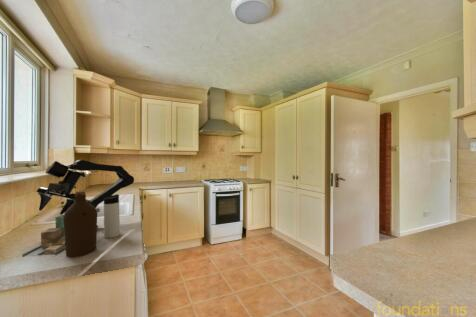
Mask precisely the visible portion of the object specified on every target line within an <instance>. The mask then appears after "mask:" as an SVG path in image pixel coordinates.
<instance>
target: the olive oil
mask: <svg viewBox="0 0 476 317" xmlns="http://www.w3.org/2000/svg"><path fill="white" fill-rule="evenodd" d="M74 194H76V195H75V202H74V203H73V204H72V205H71V206H70V207H69V208H68V209H67V210H66V212H65V213H63V215H64V217H63V222H64V232H65V246H66V249H65V254H66V255H65V256H66V257H67V258H72V259H73V258H75V259H76V258H81V257H84V256H88V255H89V254H92V253H93V252H95V251H96V250H97V231H98V228H97V227H98V226H97V225H98V210H97V207H96V208H95V207H94V206H93V205H91V204H90V203H89V202H87V201H86V199H87V196H86V195H87V194H86V190H78V191H75V193H74Z"/></svg>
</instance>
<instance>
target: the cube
mask: <svg viewBox="0 0 476 317" xmlns="http://www.w3.org/2000/svg"><path fill="white" fill-rule="evenodd" d="M60 239H62V228H56V227H53V228H52V227H51V228H46V229H45V230H43V231H42V232H40V243H41V244H47V243H55V242H57V241H58V240H60ZM41 244H40V245H41Z"/></svg>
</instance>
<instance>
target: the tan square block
mask: <svg viewBox="0 0 476 317" xmlns="http://www.w3.org/2000/svg"><path fill="white" fill-rule="evenodd" d="M56 245H63V247H65V240H62V241H60V242H58V243H57V244H56Z"/></svg>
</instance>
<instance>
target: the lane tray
mask: <svg viewBox="0 0 476 317" xmlns="http://www.w3.org/2000/svg"><path fill="white" fill-rule="evenodd" d="M64 240H65V239H64ZM56 244H57V243H56ZM56 244H54V245H52V246H56ZM50 247H51V246H50ZM47 248H49V247H42V248H41V244H39V245H38V246H36V247H34V248H32V249H30V250H28V251H26V252H24V253H22V255H21V256H22V257H31V256H52V255H58V254H59V253H60V252H62V251H64V250H66V246H65V247H63V248H61V249H59V250H58V251H56V252H54V253H47V254H45V249H47Z"/></svg>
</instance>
